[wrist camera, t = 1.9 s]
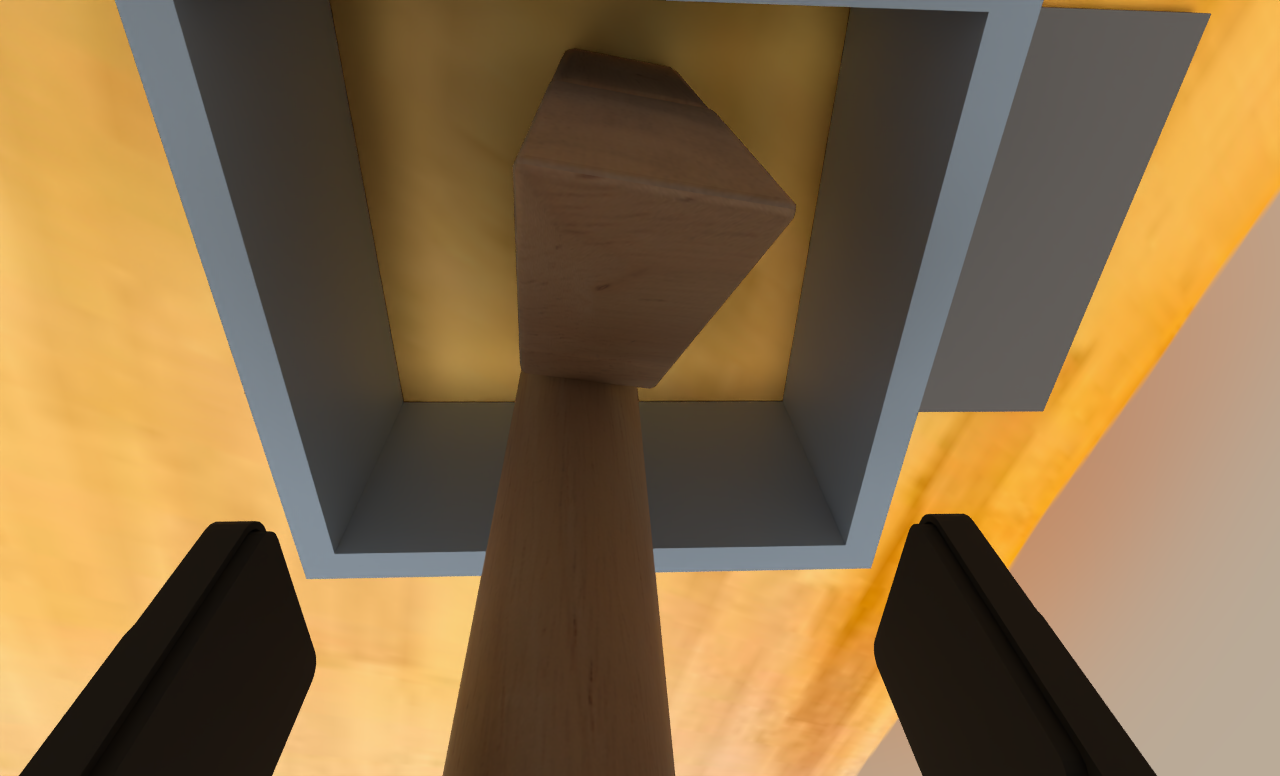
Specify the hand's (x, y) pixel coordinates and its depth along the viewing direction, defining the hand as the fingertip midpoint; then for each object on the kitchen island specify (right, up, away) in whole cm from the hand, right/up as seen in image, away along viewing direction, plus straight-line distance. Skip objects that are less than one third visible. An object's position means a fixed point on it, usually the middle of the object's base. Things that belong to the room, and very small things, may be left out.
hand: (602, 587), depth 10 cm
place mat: (+13, +8, +13) cm, 21 cm away
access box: (-1, +8, +13) cm, 15 cm away
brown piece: (-1, +9, +13) cm, 15 cm away
